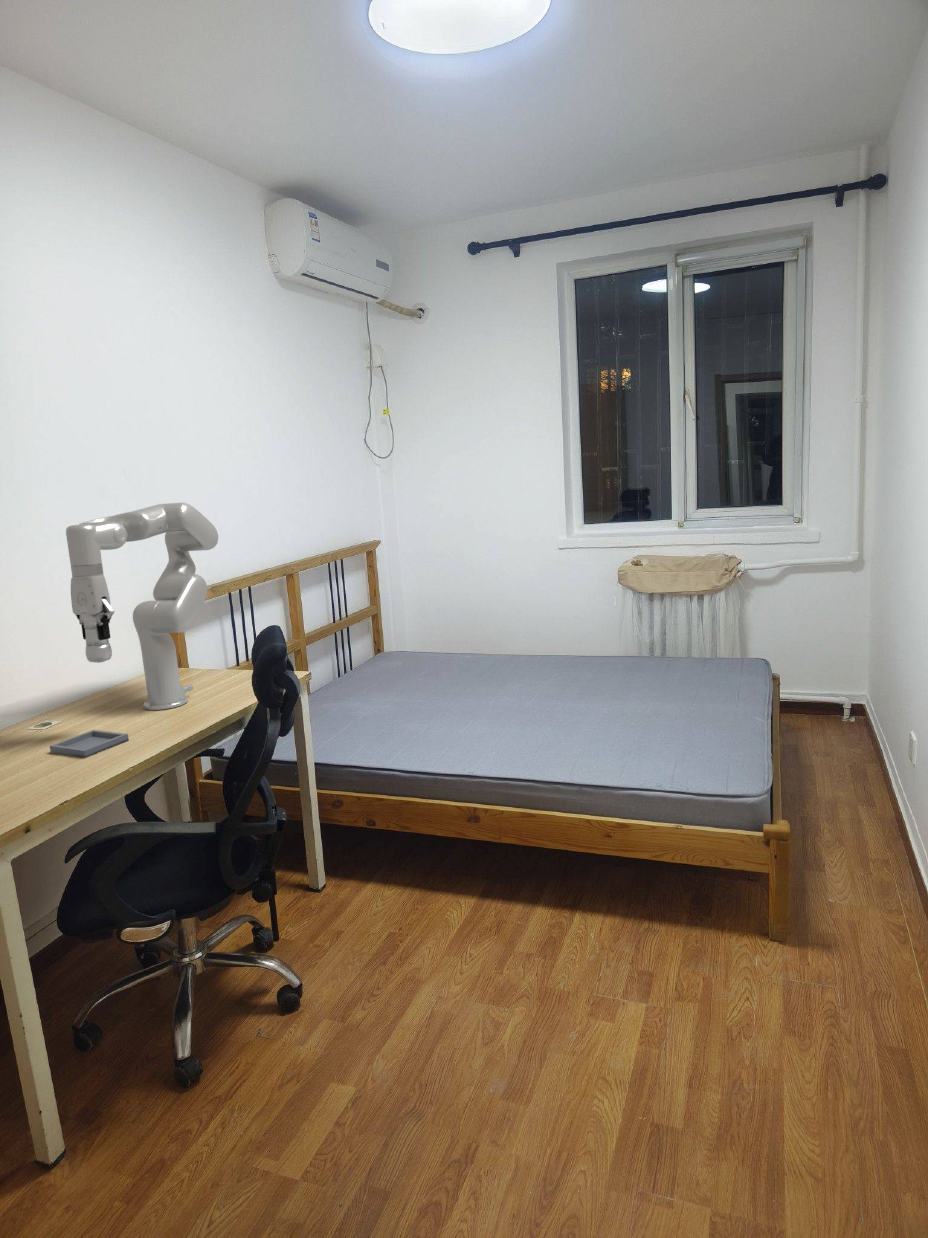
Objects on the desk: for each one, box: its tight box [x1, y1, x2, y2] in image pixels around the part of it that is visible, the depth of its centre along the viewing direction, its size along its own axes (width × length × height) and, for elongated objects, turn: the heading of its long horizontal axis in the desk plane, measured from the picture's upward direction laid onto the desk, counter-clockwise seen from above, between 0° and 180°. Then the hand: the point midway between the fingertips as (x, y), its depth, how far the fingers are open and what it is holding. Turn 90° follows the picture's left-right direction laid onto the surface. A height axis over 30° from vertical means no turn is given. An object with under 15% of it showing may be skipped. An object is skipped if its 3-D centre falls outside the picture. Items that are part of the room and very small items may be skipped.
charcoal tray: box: [49, 729, 130, 759], centre depth 202 cm, size 13×13×2 cm
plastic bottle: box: [80, 606, 113, 664], centre depth 210 cm, size 6×7×20 cm
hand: (96, 638), depth 210 cm, fingers closed on plastic bottle, 5 cm apart
